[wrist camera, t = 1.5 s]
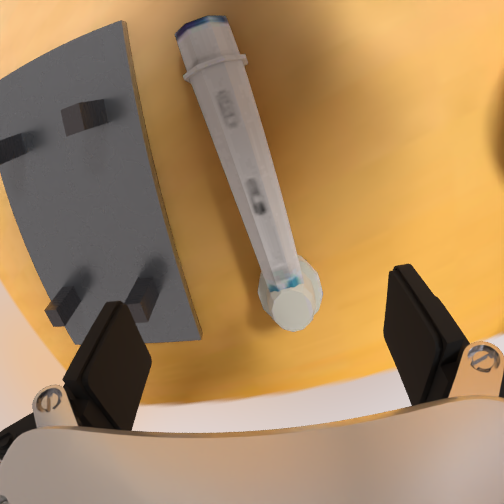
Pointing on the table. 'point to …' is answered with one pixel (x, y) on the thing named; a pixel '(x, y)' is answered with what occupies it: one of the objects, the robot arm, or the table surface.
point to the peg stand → (91, 189)
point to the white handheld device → (249, 168)
